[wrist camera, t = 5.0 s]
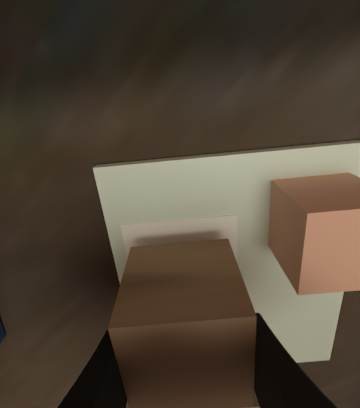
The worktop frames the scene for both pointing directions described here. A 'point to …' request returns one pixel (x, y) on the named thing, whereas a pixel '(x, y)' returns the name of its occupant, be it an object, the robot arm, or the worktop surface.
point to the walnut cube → (184, 328)
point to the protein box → (1, 332)
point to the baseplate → (228, 224)
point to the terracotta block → (317, 232)
